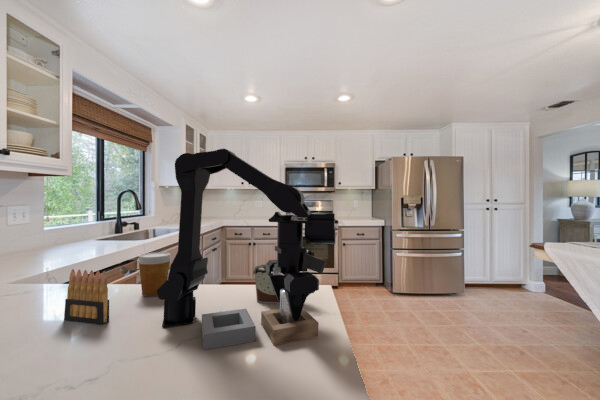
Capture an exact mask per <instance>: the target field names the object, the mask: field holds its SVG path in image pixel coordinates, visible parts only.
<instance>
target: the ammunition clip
mask: <svg viewBox="0 0 600 400" xmlns="http://www.w3.org/2000/svg"><path fill="white" fill-rule="evenodd" d="M69 274H70V275H69V277H68V278H69V280H68V286H67V297H66V298H65V301H64V303H65V304H64V316H63V321H64V322H72V323H81V324H90V325H98V326H99V325H100V326H101V325H105V324H107V323H108V322H110V299H109V287H108V276H107V273H106V271H105V270H104V271H103V272H102V274H101V273H100V271H99V270H97V271H96V273H94V270H93V269H92V270H90V271H89V273H88V271H87V269H85V270H84V271H83V273H82V271H81V269H80V268H79V269H78V270H77V271H75V269H74V268H73V269H71V271H70V273H69Z"/></svg>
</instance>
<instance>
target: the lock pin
mask: <svg viewBox="0 0 600 400" xmlns="http://www.w3.org/2000/svg"><path fill="white" fill-rule="evenodd" d="M284 289H285V288H282V289H280V304H279V309H280V324H286V323H292V322H297V321H294V320H293V317H292V314H291V311H290V308H289V304H288V301H287V298H286V295H285V291H284Z"/></svg>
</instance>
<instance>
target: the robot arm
mask: <svg viewBox="0 0 600 400" xmlns="http://www.w3.org/2000/svg"><path fill="white" fill-rule="evenodd" d="M225 169H227V170H229V171H230V172H231V173H233V174H234V175H236V176H237V177H239V178H241V179H242V180H243V181H245V182H247V183H248V184H250V185H251V186H253V187H255V188H256V189H257V190H259V191H260V192H262V193H263V194H264V195H265V196H266V197H267V199H268V200H269V201H270V202H271V203H272V204H273V205H275V206H276V208H277V209H279V210H280V211H281V212H283V213H286V214H281V213H280V211H275V212H274V214H273V215H272V216H271V217H269V219H268V222H269V223H277V231H276V232H277V234H276V235H277V237H276V239H277V240H276V242H277V243H276V245H274V251H275V252H276V259H270V260H268V261H267V262H266V263H265V264H266V272H267V273H268V274H267V275H268V277H269V279H270V282H271V284H272V286H273V289H274V291H275V294H276V296H277V299H278V301H279V303H278V304H279V305H280V289H282V288H285V289H284V291H285V295H286V298H287V301H288V304H289V308H290V311H291V314H292V317H293V320H294V321H298V320H299V318H300V315H301V312H302V309H304V305H305V302H306V300H307V298H308V296H310V294H314V293H315V292H316V291H319V290H320V280H319V278H317V276H316V275H314V274H313V273H311V272H309V271H308V270H310V271H314V272H317V273H318V274H319V275H323V273H324V270H325V268H326V265H327V264H326V263H327V260H325V259H322V258H319V257H317V256H315V252H314V251H312V250H309V249H307V248H306V247H304V246H303V240H304V239H306V240H307V241H308V242H309V244H323V245H336V232H337V231H336V225H335V223H336V221H335V220H336V219H335V217H336V215H335V213H334V212H328V213H312V211H311V209H309V207H308V206H307V204H306V203H305V196H304V193H303V192H302V191H301V190H300V189H298V188H296V187H293V186H291V185H289V184H286V183H284V182H281V181H278V180H277V179H274V178H272V177H271V176H269V175H267V174H266V173H264V172H263V171H261V170H259V169H258V168H256V167H254V165H252V164H250V163H249V162H247V161H245V160H244V159H242V158H240V157H239V156H238V155H236V154H235V153H234V152H233V151H231V150H228V149H226V148H220V149H215V150H211V151H202V152H201V151H200V152H194V153H190V152H185V153H184V152H183V153H181V155H179V156H178V157H177V158H176V159H175V161H174V173H175V180H176V182H177V184H178V187H179V189H180V192H181V193H180V194H181V195H180V206H179V207H180V209H179V211H180V212H179V225H178V226H179V228H178V242H177V252H176V254H175V257H174V258H173V260H172V262H171V263H170V265H169V271H168V277H167V281H166V282H165V283H164V284H163V285H162V286H161V287H160V288H159V289H158V290H157V294H158V295H157V297H158V300H163V321H162V324H161V327H162V328H167V327H174V326H181V325H188V324H193V323H194V318H195V317H196V304H197V303H196V301H197V298H196V296H194V292H195V291H197V290H198V288H199V286H200V284H201V283H202V282H203V281H204V279H205V278H206V275H207V274H208V273H209V272H208V262H209V257H208V256H206V257H203V255H202V253H201V249H200V247H201V229H202V212H203V211H202V210H203V195H204V192H205V190H206V188H207V186H208V184H209V181H210V178H211V175H214V174H218V173H220V172H222V171H224V170H225ZM287 213H288V214H287ZM289 213H292V214H293V215H292V214H289ZM295 216H296V217H297V218H305V219H295ZM303 229H304V230H303ZM303 232H304V234H303ZM303 235H304V239H303Z"/></svg>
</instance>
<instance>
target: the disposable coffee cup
mask: <svg viewBox="0 0 600 400" xmlns="http://www.w3.org/2000/svg"><path fill="white" fill-rule="evenodd" d="M171 261H172V255H171V252H163V251H161V252H159V251H158V252H156V251H155V252H147V253H142V254H139V255H138V258H137V263H138V267H139V277H140V278H139V279H140V284H141V285H140V286H141V295H142V296H143V297H156V295H157V296H158V294H157V290H158V289H159V288H160V287H161V286H162V285H163V284H164V283H165V282H166V281H167V280H168V275H169V271H170V266H171Z"/></svg>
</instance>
